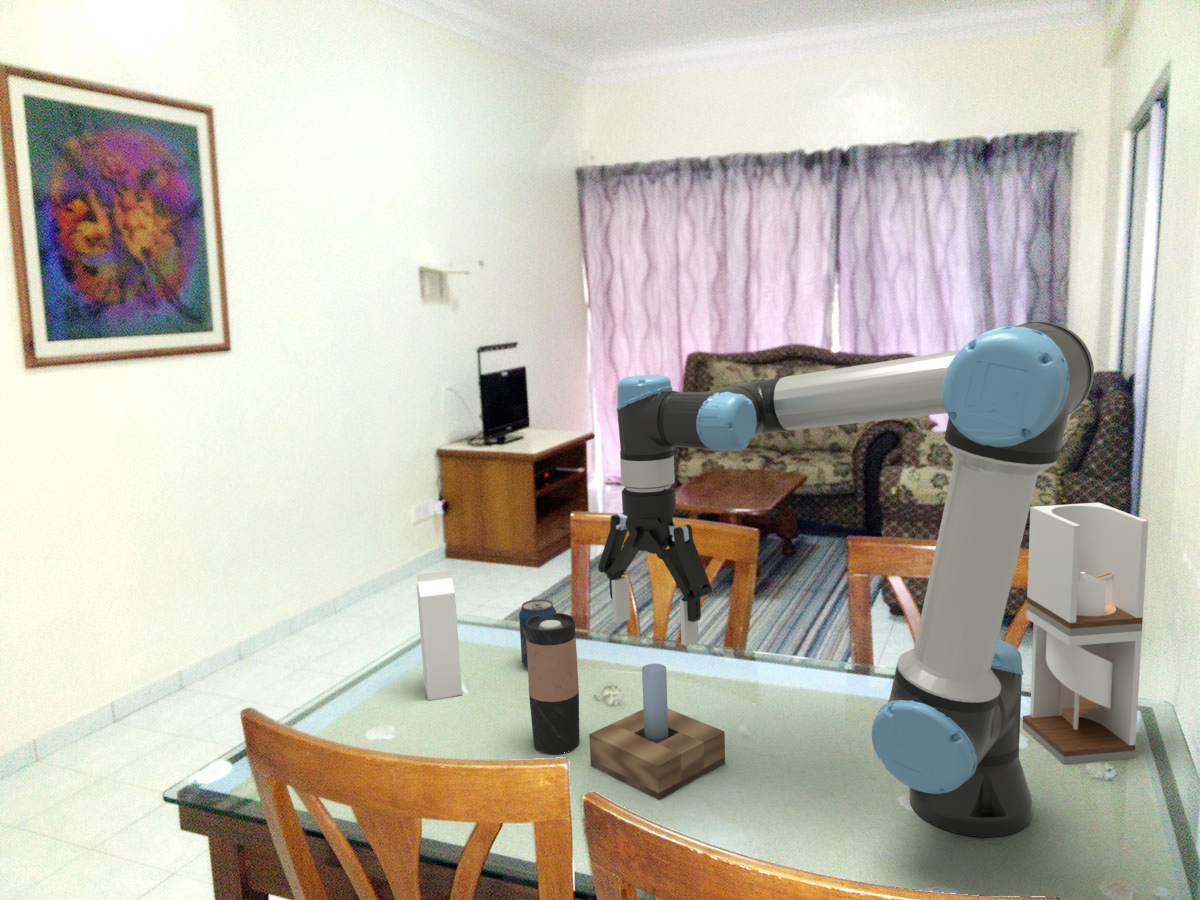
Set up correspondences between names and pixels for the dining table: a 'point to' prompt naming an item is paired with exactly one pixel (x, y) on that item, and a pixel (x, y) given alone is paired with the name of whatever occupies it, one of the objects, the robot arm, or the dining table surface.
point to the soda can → (529, 610)
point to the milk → (439, 634)
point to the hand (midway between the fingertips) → (654, 631)
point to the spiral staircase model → (1085, 629)
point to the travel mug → (553, 682)
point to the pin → (655, 702)
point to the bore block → (657, 753)
